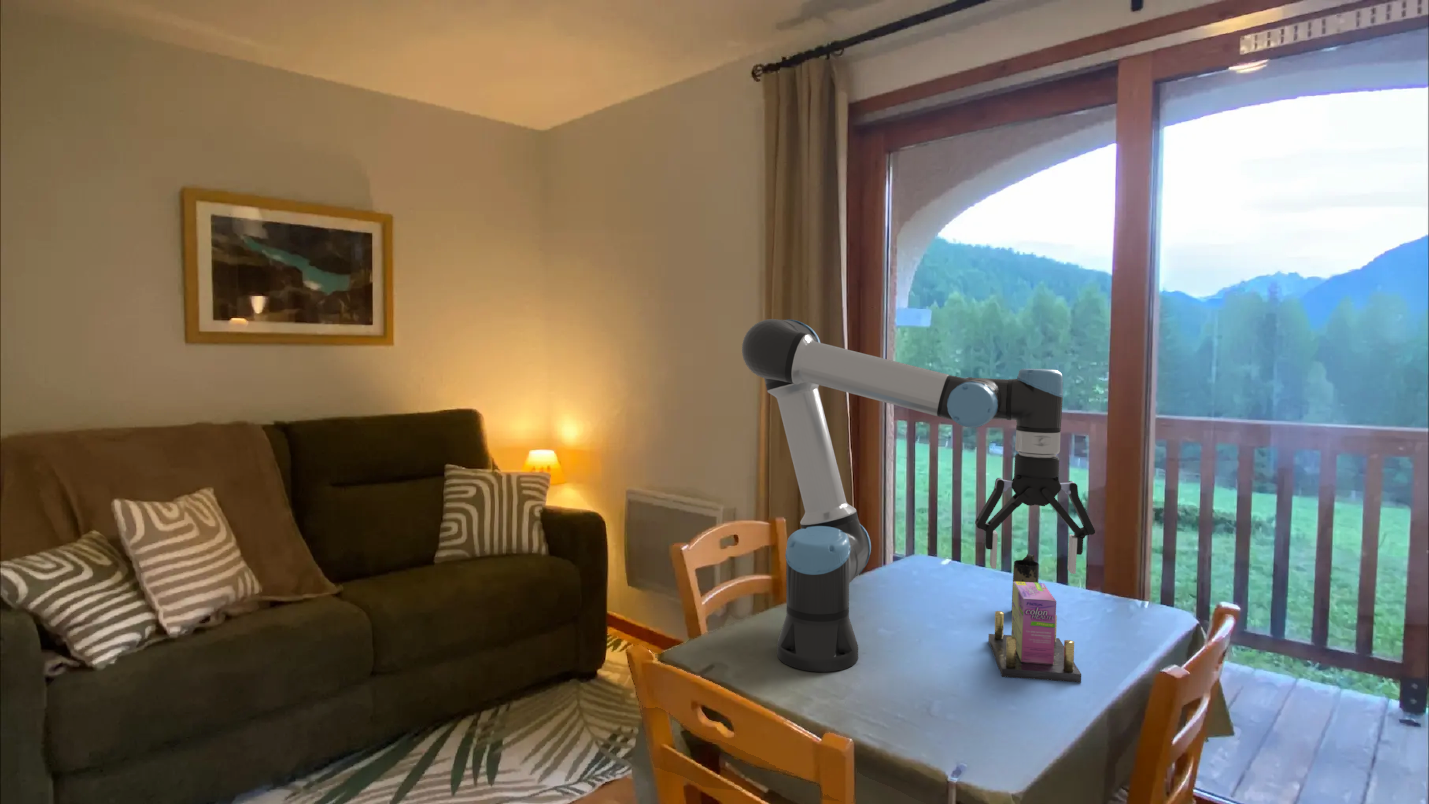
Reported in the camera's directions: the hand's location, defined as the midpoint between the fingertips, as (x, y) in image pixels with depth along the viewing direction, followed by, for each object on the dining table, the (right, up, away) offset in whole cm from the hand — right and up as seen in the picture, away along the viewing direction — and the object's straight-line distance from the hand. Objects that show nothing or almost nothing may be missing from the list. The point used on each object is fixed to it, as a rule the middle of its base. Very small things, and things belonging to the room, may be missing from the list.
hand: (1031, 569), depth 146 cm
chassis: (0, -17, +1) cm, 17 cm away
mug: (+10, -15, +28) cm, 33 cm away
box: (0, -16, +1) cm, 16 cm away
